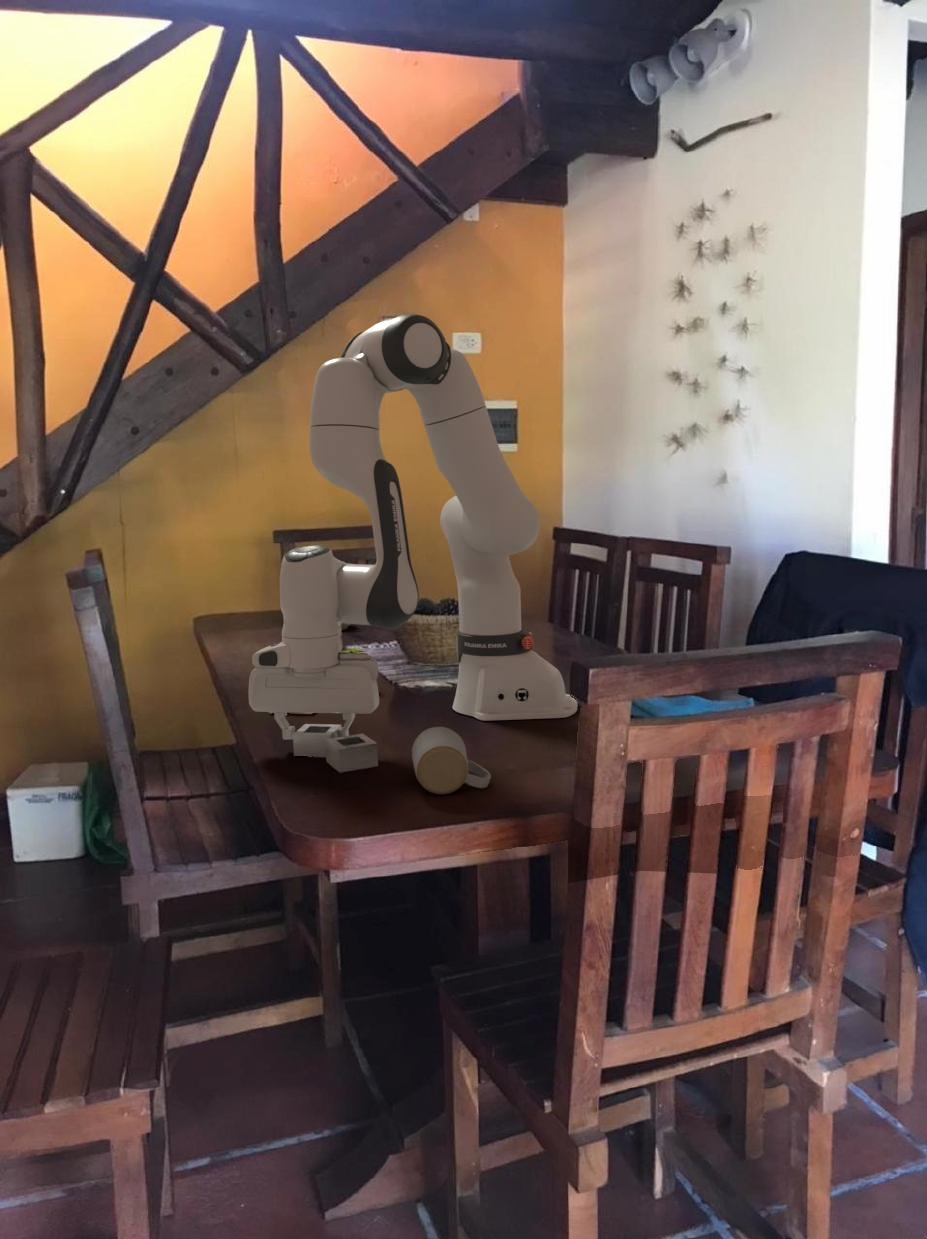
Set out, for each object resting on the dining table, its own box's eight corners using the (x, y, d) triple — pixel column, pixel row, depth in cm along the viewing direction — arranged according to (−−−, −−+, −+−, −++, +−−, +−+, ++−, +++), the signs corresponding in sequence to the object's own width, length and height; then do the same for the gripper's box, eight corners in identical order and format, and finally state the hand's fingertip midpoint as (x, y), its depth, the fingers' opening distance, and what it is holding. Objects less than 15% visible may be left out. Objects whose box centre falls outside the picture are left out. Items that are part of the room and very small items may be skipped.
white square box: (363, 755, 149) (362, 733, 148) (378, 766, 143) (377, 743, 143) (326, 761, 146) (325, 739, 145) (339, 772, 141) (338, 749, 140)
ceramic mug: (416, 799, 129) (415, 743, 128) (412, 779, 137) (411, 726, 136) (494, 795, 130) (494, 740, 129) (486, 776, 138) (486, 723, 137)
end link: (342, 745, 154) (341, 724, 153) (331, 757, 148) (330, 735, 148) (306, 745, 155) (304, 724, 154) (294, 756, 149) (292, 734, 149)
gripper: (382, 649, 151) (385, 735, 153) (256, 647, 154) (261, 732, 156) (372, 657, 144) (375, 746, 147) (241, 655, 148) (247, 743, 150)
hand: (315, 739), depth 151 cm, fingers open, 7 cm apart
